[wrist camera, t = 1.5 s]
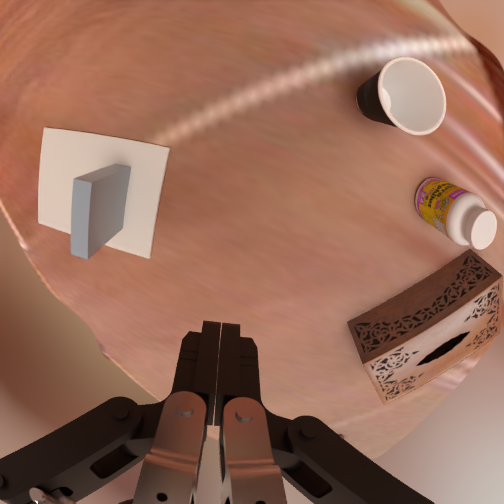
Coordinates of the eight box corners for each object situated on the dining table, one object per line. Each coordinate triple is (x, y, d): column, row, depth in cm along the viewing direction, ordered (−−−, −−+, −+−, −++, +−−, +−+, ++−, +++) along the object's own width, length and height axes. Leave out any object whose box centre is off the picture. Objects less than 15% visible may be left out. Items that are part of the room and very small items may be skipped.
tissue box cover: (468, 248, 38) (502, 275, 29) (474, 303, 43) (499, 333, 34) (346, 321, 44) (362, 364, 35) (369, 366, 49) (383, 405, 40)
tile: (131, 166, 33) (91, 182, 24) (122, 228, 37) (87, 260, 28) (115, 163, 33) (73, 178, 24) (108, 224, 37) (70, 253, 28)
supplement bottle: (435, 167, 32) (493, 189, 21) (453, 201, 34) (507, 232, 23) (405, 196, 35) (458, 228, 23) (425, 228, 36) (474, 268, 25)
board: (171, 147, 33) (169, 148, 32) (150, 257, 39) (149, 258, 39) (46, 127, 31) (44, 127, 30) (40, 221, 37) (38, 223, 37)
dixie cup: (406, 123, 30) (454, 127, 20) (356, 137, 32) (394, 143, 22) (387, 68, 27) (431, 53, 17) (334, 79, 29) (365, 62, 19)
